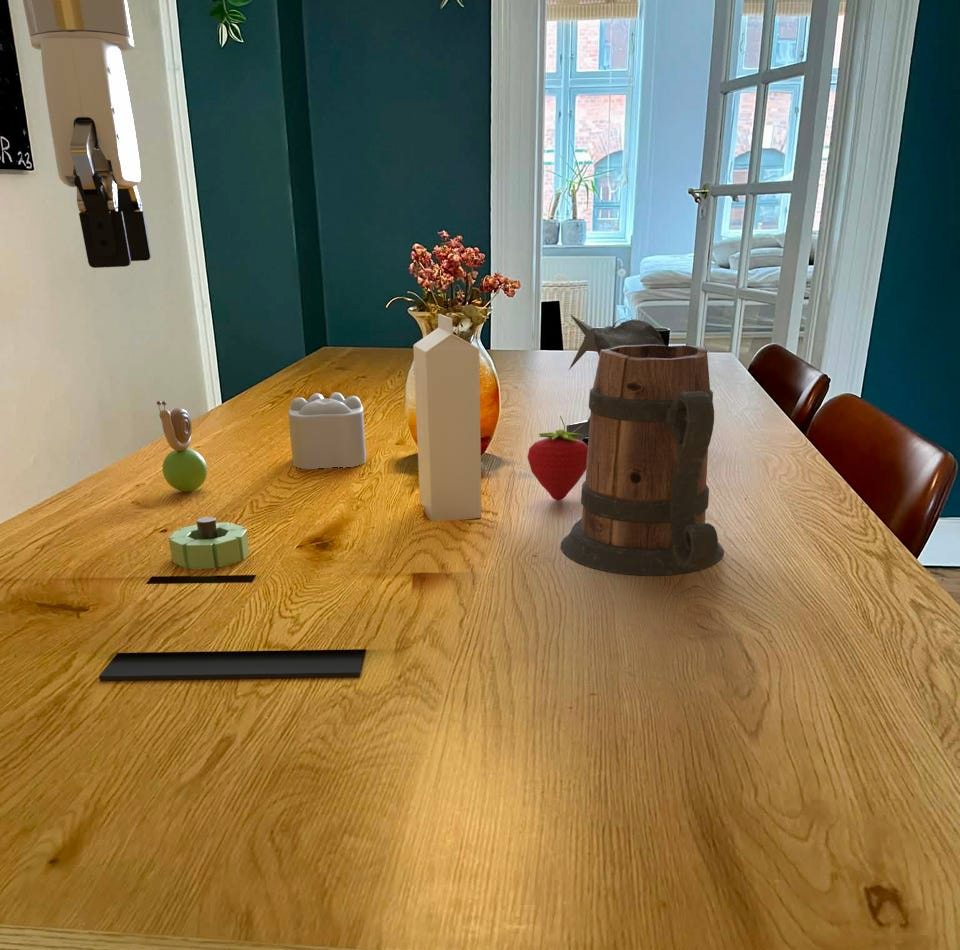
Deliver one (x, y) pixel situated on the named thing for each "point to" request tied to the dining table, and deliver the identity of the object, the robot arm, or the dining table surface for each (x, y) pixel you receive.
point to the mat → (234, 665)
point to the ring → (209, 547)
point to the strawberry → (558, 461)
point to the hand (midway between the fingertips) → (122, 263)
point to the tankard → (647, 464)
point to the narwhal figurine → (609, 338)
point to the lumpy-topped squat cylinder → (327, 432)
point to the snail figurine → (181, 452)
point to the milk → (448, 424)
